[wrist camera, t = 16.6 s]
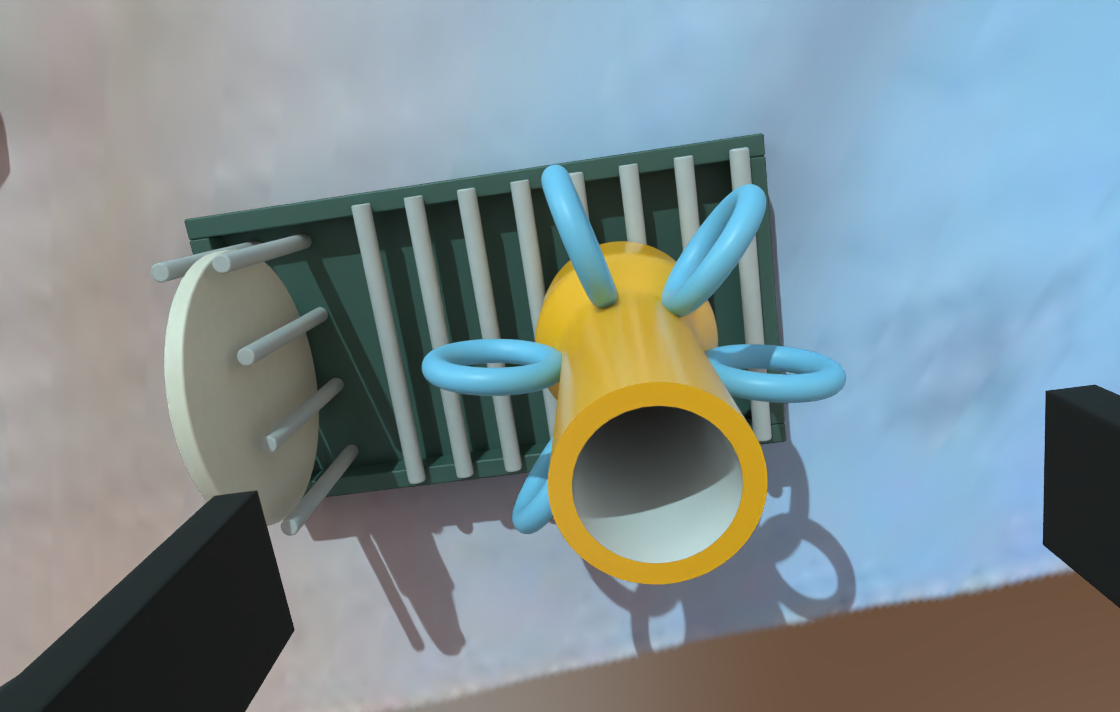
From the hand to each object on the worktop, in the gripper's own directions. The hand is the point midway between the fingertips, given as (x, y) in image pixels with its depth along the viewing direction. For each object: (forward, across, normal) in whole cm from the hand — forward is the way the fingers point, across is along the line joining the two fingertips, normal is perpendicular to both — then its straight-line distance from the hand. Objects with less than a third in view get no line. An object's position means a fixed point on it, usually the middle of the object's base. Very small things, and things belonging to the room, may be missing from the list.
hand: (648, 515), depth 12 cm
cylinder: (+16, 0, 0) cm, 16 cm away
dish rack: (+19, -5, 0) cm, 20 cm away
